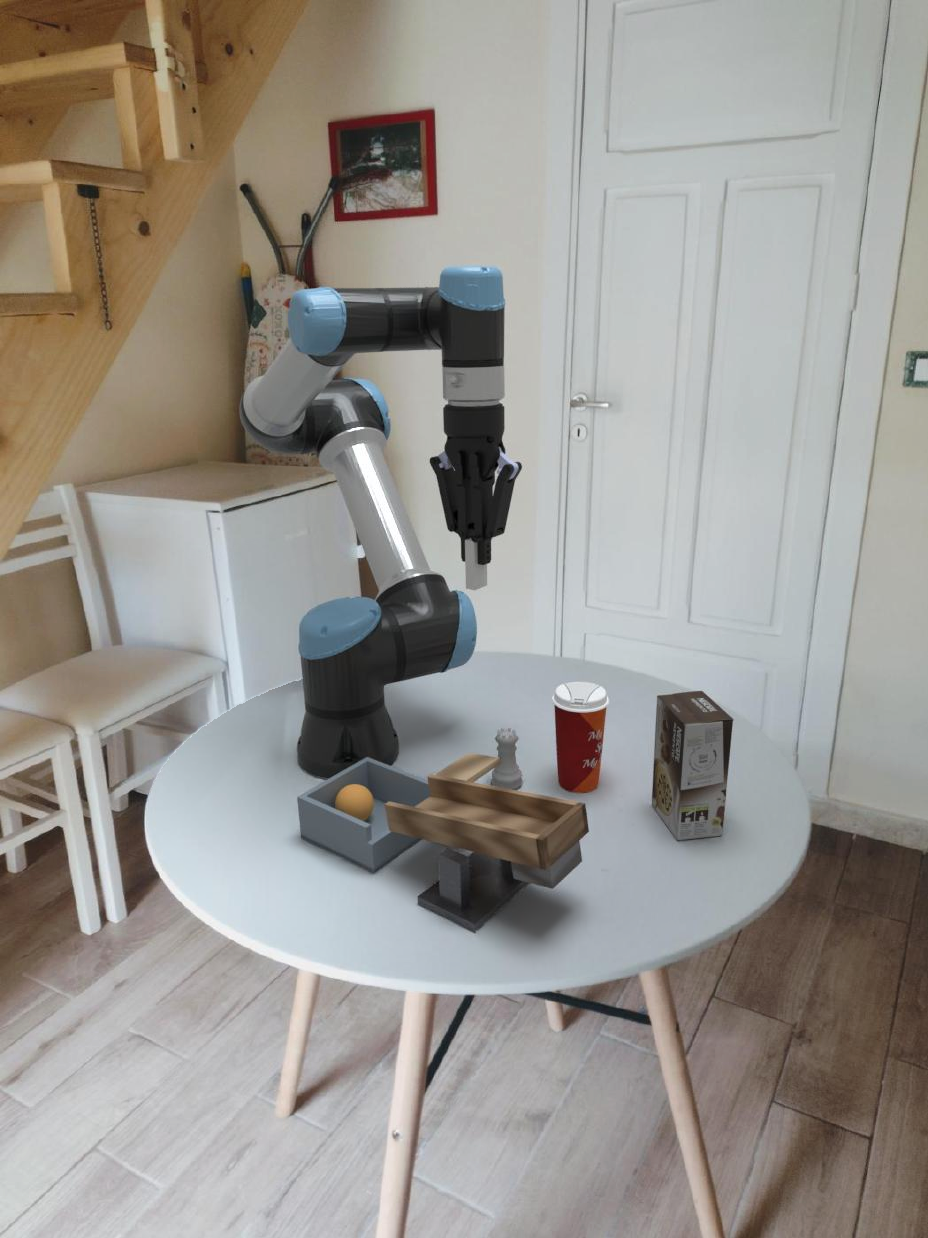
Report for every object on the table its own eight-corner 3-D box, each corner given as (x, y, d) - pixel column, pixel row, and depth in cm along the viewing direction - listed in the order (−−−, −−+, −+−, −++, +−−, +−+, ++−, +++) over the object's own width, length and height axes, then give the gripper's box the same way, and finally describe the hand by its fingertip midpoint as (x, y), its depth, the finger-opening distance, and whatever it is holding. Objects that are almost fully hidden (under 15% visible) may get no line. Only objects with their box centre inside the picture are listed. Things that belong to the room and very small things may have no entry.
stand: (417, 904, 98) (415, 850, 95) (495, 841, 109) (495, 792, 106) (474, 932, 93) (473, 876, 91) (550, 864, 104) (550, 813, 102)
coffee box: (724, 836, 109) (735, 719, 103) (676, 842, 108) (684, 724, 103) (694, 798, 117) (703, 688, 112) (649, 803, 116) (655, 693, 111)
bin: (301, 838, 110) (297, 796, 108) (369, 795, 120) (367, 757, 118) (374, 873, 103) (371, 830, 101) (440, 825, 112) (439, 784, 110)
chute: (622, 827, 101) (616, 776, 99) (550, 896, 89) (542, 840, 88) (472, 797, 114) (465, 752, 113) (393, 853, 103) (384, 804, 101)
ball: (321, 797, 112) (344, 791, 108) (348, 780, 115) (372, 775, 112) (336, 832, 112) (360, 828, 108) (363, 815, 115) (387, 810, 112)
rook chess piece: (513, 795, 119) (513, 742, 116) (485, 786, 121) (484, 734, 119) (528, 780, 123) (528, 729, 120) (500, 772, 125) (500, 722, 122)
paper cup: (604, 799, 118) (608, 705, 113) (547, 794, 119) (549, 701, 114) (607, 771, 125) (610, 681, 120) (553, 766, 126) (555, 677, 122)
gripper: (413, 402, 107) (420, 585, 115) (499, 407, 100) (500, 603, 108) (450, 397, 113) (455, 572, 121) (535, 401, 105) (534, 588, 113)
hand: (476, 586), depth 114 cm, fingers closed
